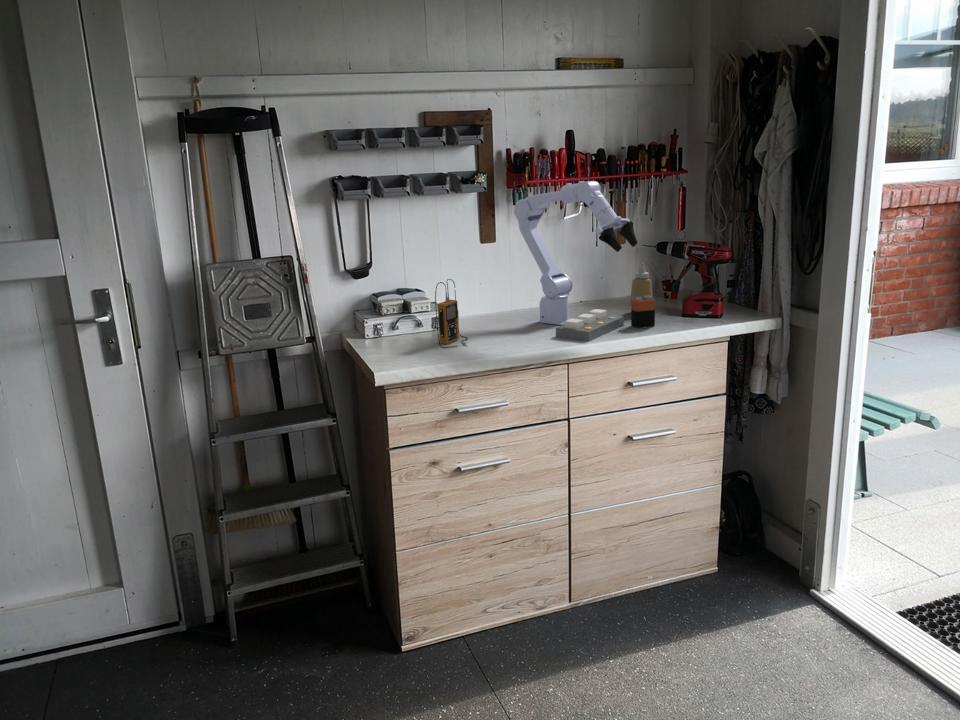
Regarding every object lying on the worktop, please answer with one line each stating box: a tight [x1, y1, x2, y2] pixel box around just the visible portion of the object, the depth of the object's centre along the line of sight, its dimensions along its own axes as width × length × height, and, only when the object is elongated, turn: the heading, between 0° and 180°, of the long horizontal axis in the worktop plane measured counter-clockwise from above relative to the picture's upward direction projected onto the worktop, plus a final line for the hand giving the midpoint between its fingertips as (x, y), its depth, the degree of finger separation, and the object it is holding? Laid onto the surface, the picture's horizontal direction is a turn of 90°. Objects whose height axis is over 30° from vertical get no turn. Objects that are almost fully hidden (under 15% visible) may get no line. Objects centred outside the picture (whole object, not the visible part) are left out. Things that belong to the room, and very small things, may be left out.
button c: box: [588, 308, 608, 319], centre depth 262 cm, size 4×4×3 cm
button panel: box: [555, 314, 625, 342], centre depth 256 cm, size 12×24×3 cm, turn 144°
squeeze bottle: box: [629, 261, 654, 305], centre depth 276 cm, size 8×8×18 cm
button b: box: [576, 313, 596, 324], centre depth 256 cm, size 4×4×3 cm
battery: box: [630, 296, 656, 329], centre depth 259 cm, size 4×7×10 cm, turn 108°
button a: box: [565, 318, 584, 329], centre depth 250 cm, size 4×4×3 cm
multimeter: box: [434, 278, 469, 349], centre depth 245 cm, size 15×10×20 cm
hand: (627, 247), depth 244 cm, fingers open, 7 cm apart
